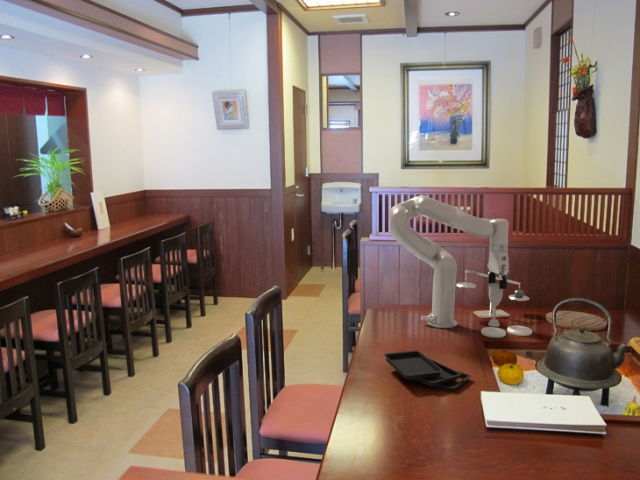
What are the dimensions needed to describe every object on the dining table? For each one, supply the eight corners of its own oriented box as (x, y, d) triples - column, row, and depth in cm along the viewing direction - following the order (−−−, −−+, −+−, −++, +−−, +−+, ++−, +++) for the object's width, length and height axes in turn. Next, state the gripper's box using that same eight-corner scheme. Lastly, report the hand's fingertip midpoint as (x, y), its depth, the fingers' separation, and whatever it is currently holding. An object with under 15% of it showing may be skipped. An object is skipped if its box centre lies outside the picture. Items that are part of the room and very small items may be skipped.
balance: (459, 319, 255) (461, 272, 252) (451, 314, 264) (453, 268, 260) (531, 315, 262) (534, 269, 258) (521, 310, 271) (524, 265, 267)
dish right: (514, 336, 233) (514, 333, 233) (502, 329, 243) (502, 326, 242) (536, 335, 235) (536, 332, 235) (523, 327, 244) (524, 325, 244)
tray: (474, 375, 194) (475, 360, 193) (456, 401, 174) (457, 385, 173) (393, 359, 209) (393, 345, 208) (367, 382, 189) (368, 367, 188)
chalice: (502, 327, 244) (505, 287, 241) (486, 326, 245) (488, 286, 242) (500, 322, 251) (503, 283, 248) (485, 321, 252) (487, 282, 249)
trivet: (535, 322, 253) (535, 318, 253) (560, 311, 270) (561, 307, 269) (592, 336, 235) (592, 331, 235) (615, 323, 251) (616, 319, 251)
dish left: (487, 338, 231) (488, 335, 231) (476, 330, 240) (477, 327, 240) (510, 336, 233) (510, 334, 232) (498, 329, 242) (498, 326, 242)
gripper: (517, 250, 235) (515, 290, 238) (496, 243, 252) (495, 280, 254) (500, 251, 233) (499, 291, 236) (481, 244, 250) (480, 281, 253)
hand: (497, 285), depth 245 cm, fingers open, 9 cm apart
